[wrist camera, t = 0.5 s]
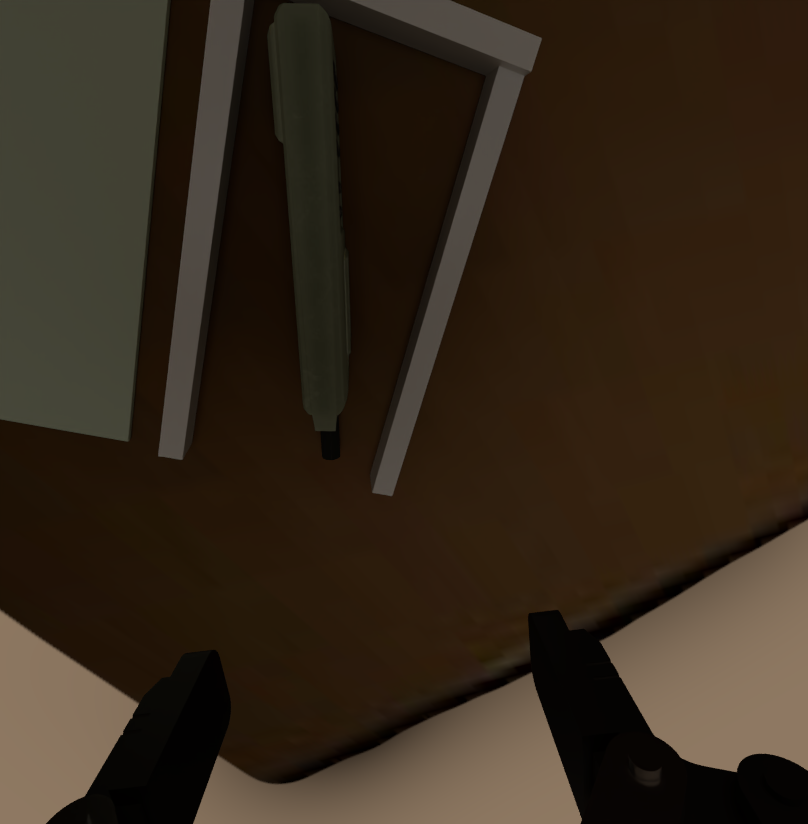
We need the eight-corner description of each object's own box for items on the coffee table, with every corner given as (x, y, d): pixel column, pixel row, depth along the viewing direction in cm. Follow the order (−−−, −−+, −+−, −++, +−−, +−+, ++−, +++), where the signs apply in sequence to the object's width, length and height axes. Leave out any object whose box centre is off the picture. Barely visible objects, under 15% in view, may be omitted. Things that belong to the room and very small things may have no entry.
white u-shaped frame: (169, 438, 35) (153, 463, 32) (230, -60, 25) (215, -97, 22) (388, 478, 39) (393, 503, 36) (518, 55, 29) (541, 38, 26)
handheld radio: (342, 46, 28) (355, 448, 38) (282, 43, 27) (311, 449, 37) (339, 3, 22) (355, 497, 32) (260, 0, 21) (302, 499, 31)
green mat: (-53, 405, 32) (-59, 409, 32) (-83, -156, 22) (-92, -164, 22) (130, 438, 35) (128, 441, 34) (175, -56, 25) (173, -61, 24)
